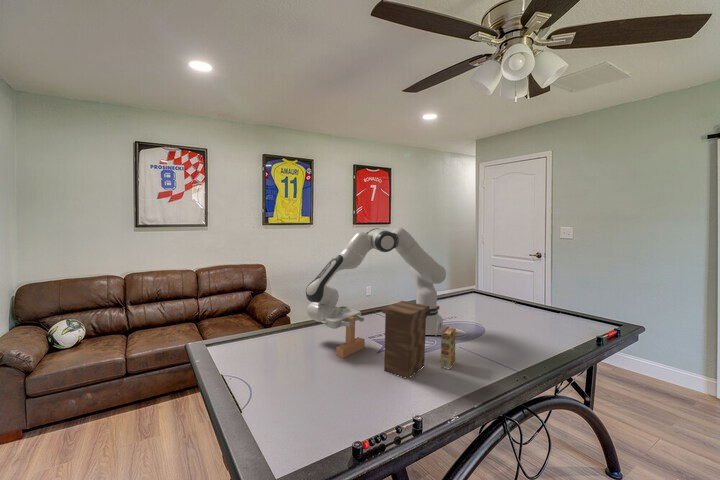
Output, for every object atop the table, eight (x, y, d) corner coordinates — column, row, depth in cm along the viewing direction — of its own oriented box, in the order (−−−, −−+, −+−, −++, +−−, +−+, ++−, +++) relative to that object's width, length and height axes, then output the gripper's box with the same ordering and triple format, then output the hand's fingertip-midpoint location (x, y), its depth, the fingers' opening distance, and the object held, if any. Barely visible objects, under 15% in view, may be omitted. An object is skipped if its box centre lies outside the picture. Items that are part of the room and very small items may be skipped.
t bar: (358, 313, 162) (365, 314, 160) (357, 345, 163) (364, 347, 161) (336, 320, 149) (343, 322, 147) (336, 355, 151) (343, 358, 148)
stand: (400, 358, 149) (402, 300, 147) (427, 366, 141) (429, 305, 139) (380, 371, 136) (382, 308, 134) (409, 381, 128) (410, 314, 127)
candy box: (449, 370, 138) (451, 333, 137) (439, 367, 140) (441, 332, 139) (455, 362, 146) (456, 327, 145) (445, 360, 148) (446, 326, 147)
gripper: (319, 314, 153) (342, 320, 144) (347, 305, 169) (370, 310, 161) (319, 328, 153) (342, 335, 145) (347, 317, 169) (369, 323, 161)
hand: (357, 322), depth 153 cm, fingers open, 8 cm apart
